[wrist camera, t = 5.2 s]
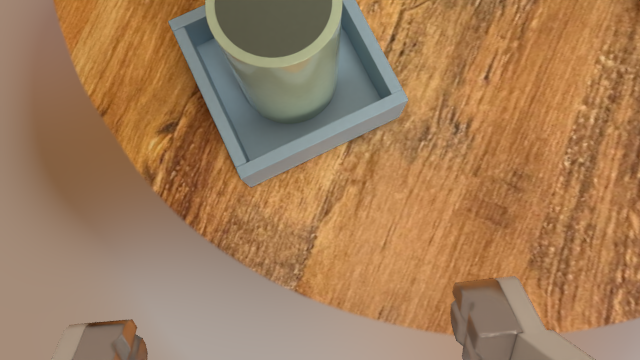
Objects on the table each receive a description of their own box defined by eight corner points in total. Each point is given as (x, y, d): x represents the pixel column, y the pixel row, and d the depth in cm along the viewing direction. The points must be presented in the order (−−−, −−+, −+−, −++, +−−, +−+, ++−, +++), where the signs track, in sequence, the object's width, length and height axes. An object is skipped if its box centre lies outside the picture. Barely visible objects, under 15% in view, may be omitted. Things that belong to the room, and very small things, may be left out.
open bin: (399, 117, 33) (408, 99, 30) (250, 187, 33) (240, 179, 29) (328, -19, 35) (328, -52, 31) (185, 46, 34) (167, 21, 31)
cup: (354, 98, 33) (366, 30, 23) (266, 140, 32) (238, 89, 22) (312, 16, 34) (305, -83, 24) (226, 56, 33) (182, -28, 23)
